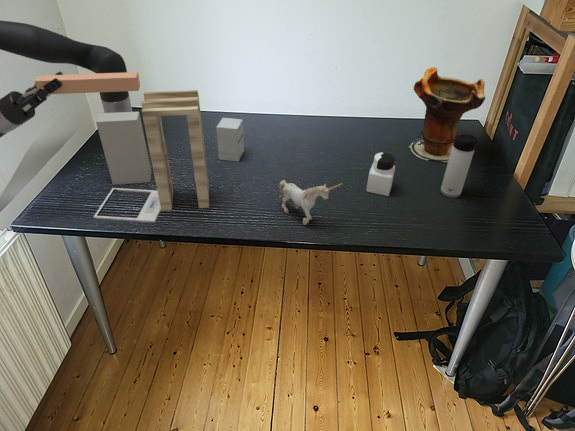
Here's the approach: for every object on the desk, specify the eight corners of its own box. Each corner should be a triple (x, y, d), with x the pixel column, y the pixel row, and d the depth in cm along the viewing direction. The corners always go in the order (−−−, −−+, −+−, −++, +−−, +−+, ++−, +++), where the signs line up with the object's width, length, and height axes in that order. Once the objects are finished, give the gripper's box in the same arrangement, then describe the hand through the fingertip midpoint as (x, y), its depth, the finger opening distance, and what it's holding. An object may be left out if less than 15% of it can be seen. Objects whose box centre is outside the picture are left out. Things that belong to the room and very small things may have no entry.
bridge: (163, 191, 144) (144, 89, 123) (208, 188, 145) (197, 87, 124) (161, 210, 136) (140, 106, 115) (209, 207, 138) (197, 103, 117)
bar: (43, 88, 117) (38, 75, 114) (140, 85, 119) (137, 72, 117) (39, 94, 114) (34, 81, 112) (138, 90, 117) (136, 77, 115)
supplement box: (239, 162, 158) (237, 129, 150) (218, 159, 159) (215, 126, 151) (244, 151, 163) (243, 119, 155) (224, 149, 164) (222, 116, 156)
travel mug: (450, 200, 142) (467, 144, 130) (436, 189, 147) (451, 134, 134) (465, 195, 145) (483, 139, 132) (450, 184, 149) (467, 129, 137)
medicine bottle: (392, 184, 149) (398, 152, 141) (388, 196, 144) (394, 164, 136) (370, 179, 151) (375, 148, 143) (366, 191, 145) (370, 159, 138)
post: (115, 174, 150) (99, 113, 137) (151, 172, 152) (139, 111, 138) (112, 184, 146) (95, 121, 132) (149, 182, 148) (136, 120, 134)
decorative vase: (470, 170, 155) (490, 91, 138) (401, 160, 162) (412, 83, 145) (471, 141, 171) (489, 67, 154) (408, 133, 177) (419, 61, 160)
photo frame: (154, 220, 132) (93, 216, 133) (154, 223, 132) (94, 219, 133) (168, 190, 143) (112, 187, 144) (169, 193, 144) (113, 190, 145)
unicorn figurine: (328, 235, 129) (331, 197, 121) (268, 213, 136) (267, 176, 128) (338, 221, 134) (342, 183, 125) (280, 201, 141) (280, 164, 133)
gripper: (-13, 114, 110) (41, 77, 106) (6, 89, 121) (56, 55, 117) (13, 137, 114) (66, 102, 111) (30, 111, 125) (78, 79, 122)
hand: (61, 78), depth 114 cm, fingers closed on bar, 3 cm apart
